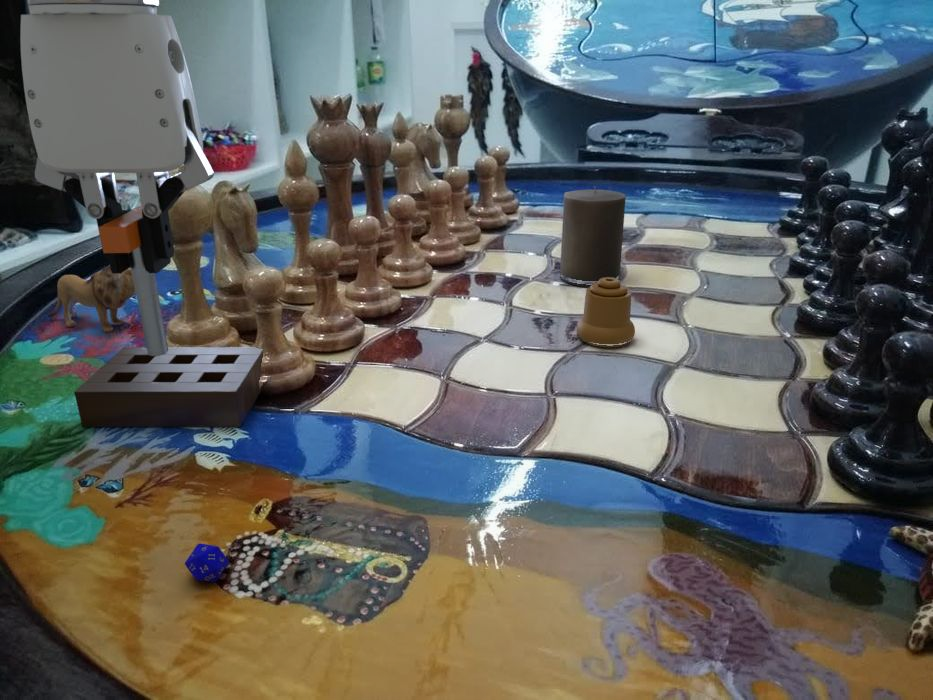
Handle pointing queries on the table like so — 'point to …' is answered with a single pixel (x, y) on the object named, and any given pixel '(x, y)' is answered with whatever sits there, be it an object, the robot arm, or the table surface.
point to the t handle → (138, 276)
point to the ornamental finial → (606, 314)
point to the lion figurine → (95, 295)
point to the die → (206, 562)
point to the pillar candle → (592, 235)
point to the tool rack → (172, 388)
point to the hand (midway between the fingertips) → (142, 266)
